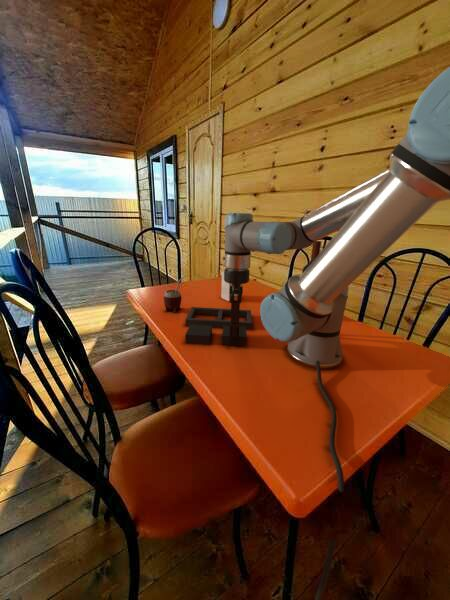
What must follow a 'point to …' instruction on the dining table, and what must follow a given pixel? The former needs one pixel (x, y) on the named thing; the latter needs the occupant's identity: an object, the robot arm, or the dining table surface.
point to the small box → (226, 289)
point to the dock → (220, 313)
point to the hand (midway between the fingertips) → (234, 338)
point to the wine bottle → (313, 253)
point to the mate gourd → (173, 299)
